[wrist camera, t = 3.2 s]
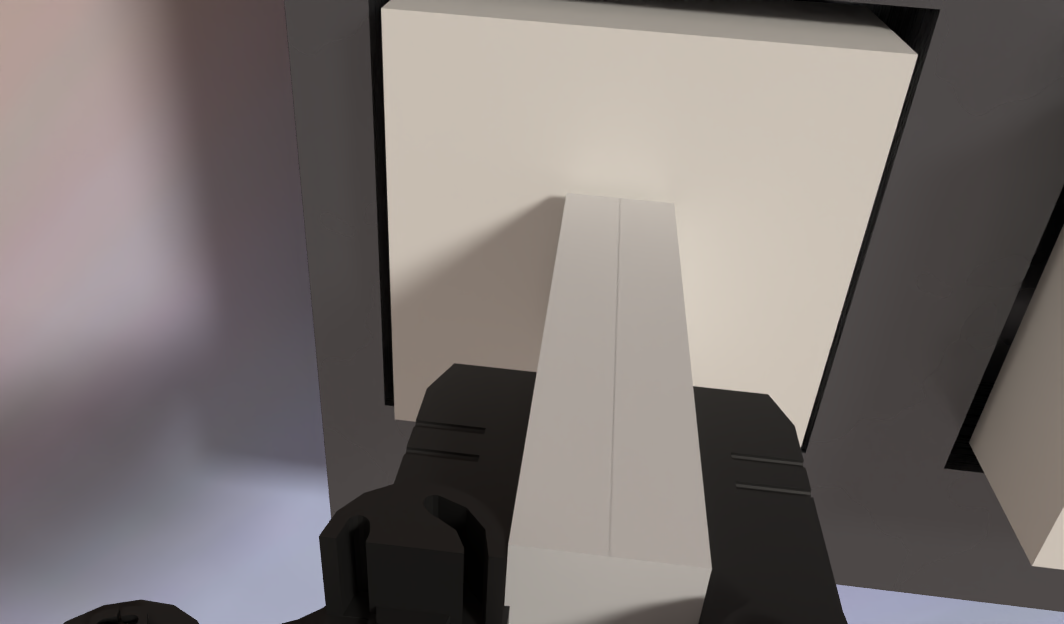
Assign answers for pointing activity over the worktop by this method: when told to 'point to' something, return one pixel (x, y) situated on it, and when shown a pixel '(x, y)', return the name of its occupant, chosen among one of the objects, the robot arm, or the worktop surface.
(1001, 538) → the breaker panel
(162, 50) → the worktop surface
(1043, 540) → the block
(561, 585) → the robot arm
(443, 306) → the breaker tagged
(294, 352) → the worktop surface
